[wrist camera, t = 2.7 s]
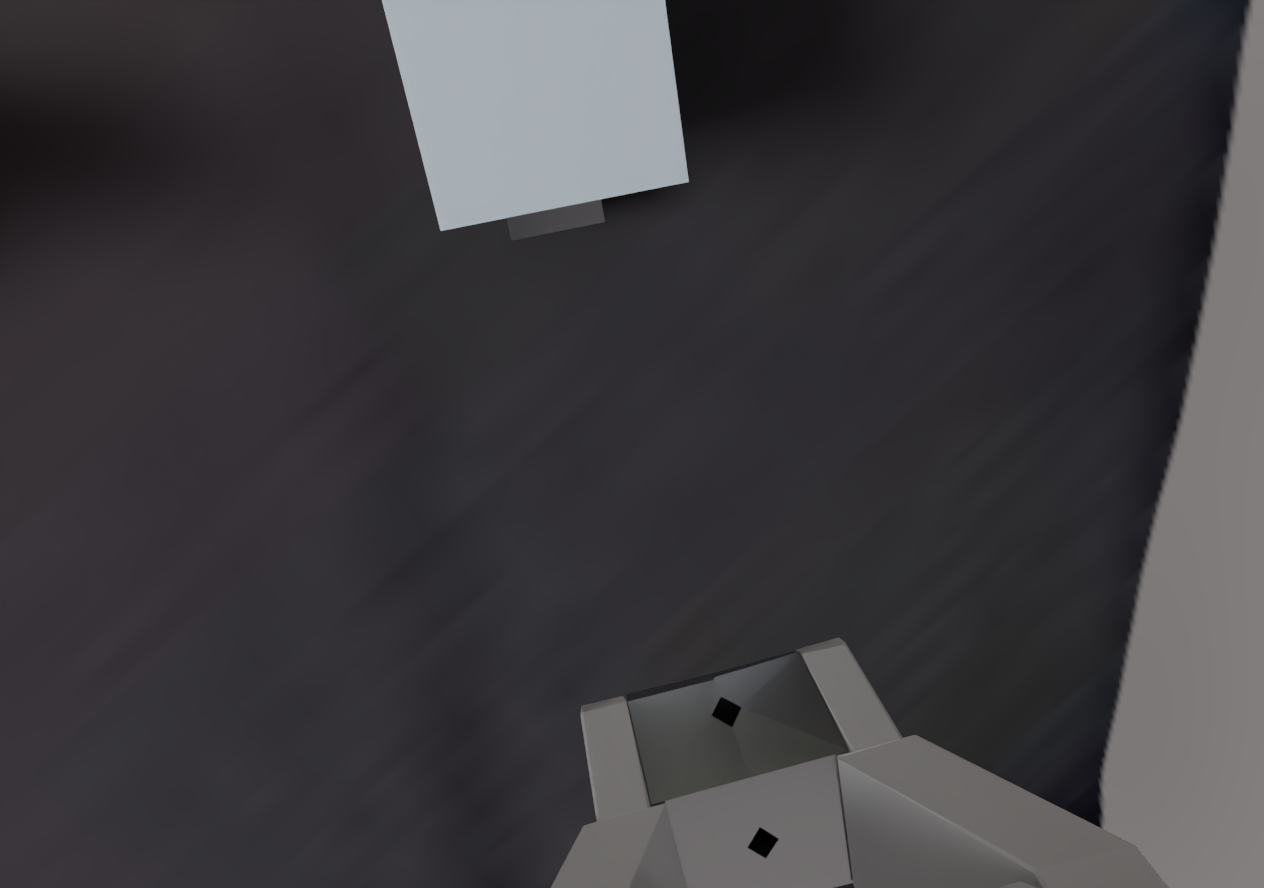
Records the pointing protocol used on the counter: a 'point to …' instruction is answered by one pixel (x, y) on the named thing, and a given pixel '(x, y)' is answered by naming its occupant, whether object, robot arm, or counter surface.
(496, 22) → the block
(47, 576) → the counter surface
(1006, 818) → the robot arm
